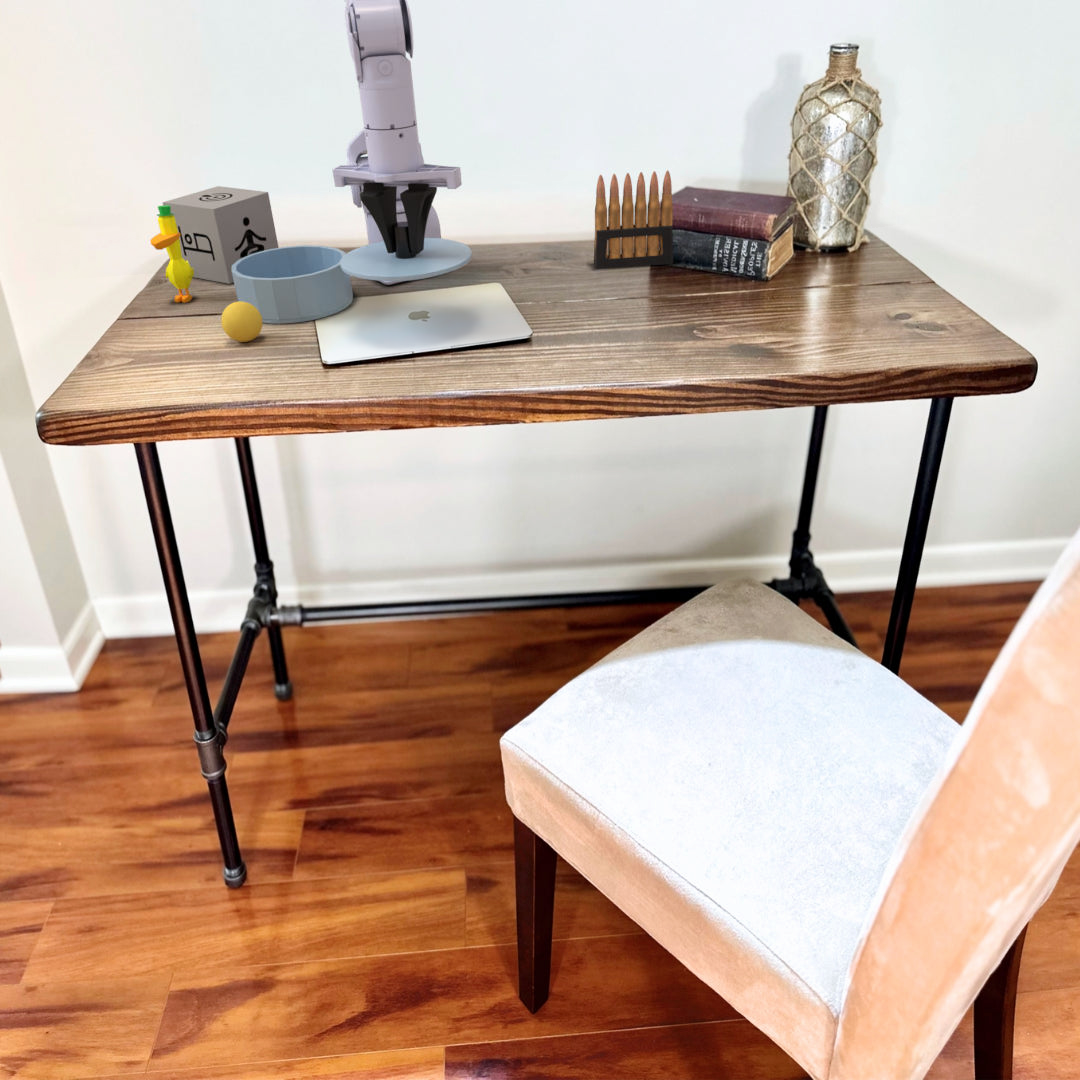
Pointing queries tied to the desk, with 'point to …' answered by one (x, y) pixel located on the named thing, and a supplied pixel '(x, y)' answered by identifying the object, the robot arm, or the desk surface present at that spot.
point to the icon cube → (222, 229)
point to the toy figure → (173, 253)
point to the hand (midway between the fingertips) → (405, 251)
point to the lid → (405, 258)
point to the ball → (241, 321)
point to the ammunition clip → (633, 225)
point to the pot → (293, 283)
